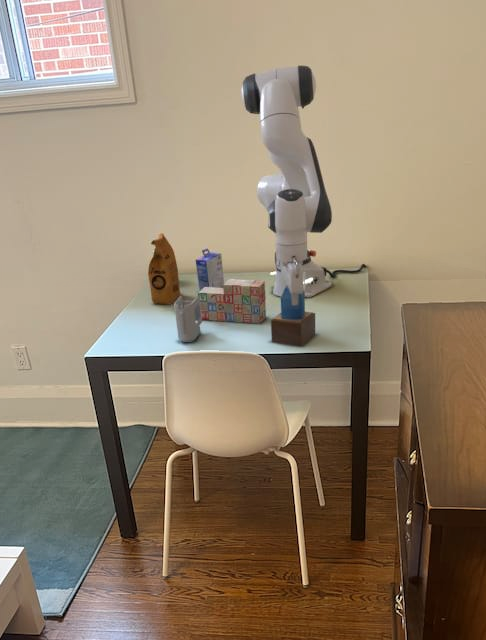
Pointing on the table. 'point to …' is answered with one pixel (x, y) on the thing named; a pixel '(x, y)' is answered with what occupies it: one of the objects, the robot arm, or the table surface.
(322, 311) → the table surface
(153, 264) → the coffee package
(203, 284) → the ink cartridge box
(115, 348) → the table surface
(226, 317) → the stack of blocks
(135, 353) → the table surface
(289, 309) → the perfume bottle
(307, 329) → the walnut block
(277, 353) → the table surface
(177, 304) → the cable organizer
